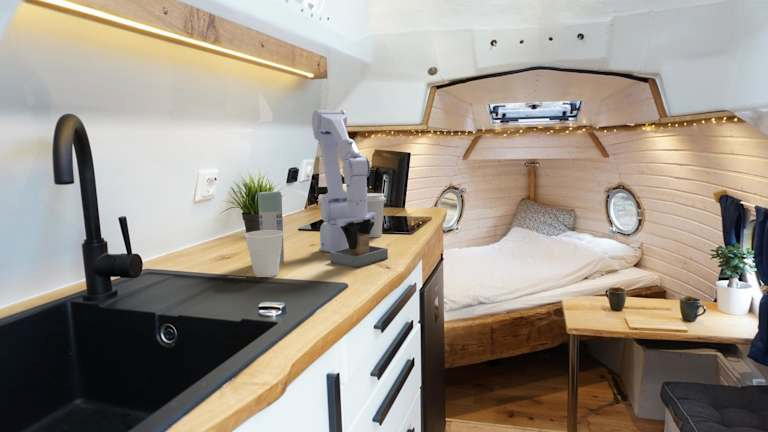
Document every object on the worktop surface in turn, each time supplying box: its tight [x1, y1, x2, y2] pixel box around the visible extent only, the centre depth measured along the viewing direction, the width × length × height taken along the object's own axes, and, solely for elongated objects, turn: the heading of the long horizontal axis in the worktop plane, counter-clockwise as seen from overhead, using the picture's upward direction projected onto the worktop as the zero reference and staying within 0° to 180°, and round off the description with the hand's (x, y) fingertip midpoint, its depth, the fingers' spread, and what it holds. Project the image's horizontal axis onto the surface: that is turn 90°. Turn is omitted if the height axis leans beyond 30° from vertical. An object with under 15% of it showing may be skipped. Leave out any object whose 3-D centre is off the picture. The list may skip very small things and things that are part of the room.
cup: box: [244, 230, 285, 278], centre depth 132 cm, size 10×10×11 cm
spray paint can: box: [257, 191, 285, 265], centre depth 145 cm, size 6×6×20 cm
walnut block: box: [349, 233, 370, 256], centre depth 145 cm, size 4×4×6 cm
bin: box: [329, 245, 389, 269], centre depth 146 cm, size 10×13×3 cm
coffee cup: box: [367, 192, 386, 238], centre depth 182 cm, size 10×10×15 cm
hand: (358, 247), depth 146 cm, fingers closed on walnut block, 4 cm apart
